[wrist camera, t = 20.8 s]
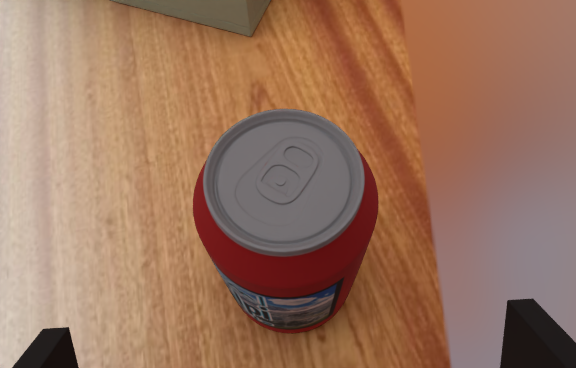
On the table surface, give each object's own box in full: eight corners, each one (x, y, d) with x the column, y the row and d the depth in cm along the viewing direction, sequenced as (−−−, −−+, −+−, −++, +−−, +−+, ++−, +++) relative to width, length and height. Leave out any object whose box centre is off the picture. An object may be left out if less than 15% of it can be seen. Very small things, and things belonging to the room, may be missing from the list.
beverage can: (207, 292, 25) (138, 203, 15) (274, 198, 28) (257, 65, 17) (310, 362, 24) (317, 320, 13) (372, 256, 26) (422, 146, 15)
